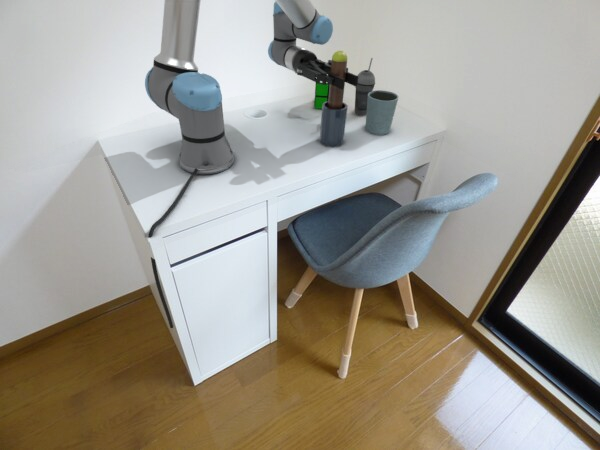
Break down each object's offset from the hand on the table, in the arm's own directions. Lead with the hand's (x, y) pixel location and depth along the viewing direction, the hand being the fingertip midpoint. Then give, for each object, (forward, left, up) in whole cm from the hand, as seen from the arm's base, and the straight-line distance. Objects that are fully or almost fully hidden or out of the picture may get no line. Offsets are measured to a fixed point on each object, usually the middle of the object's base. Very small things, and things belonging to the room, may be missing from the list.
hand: (350, 82), depth 103 cm
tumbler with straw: (+29, +8, -20) cm, 36 cm away
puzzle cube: (+28, +22, -20) cm, 41 cm away
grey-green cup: (+20, -3, -20) cm, 29 cm away
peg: (+2, +5, -9) cm, 10 cm away
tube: (+2, +5, -20) cm, 21 cm away
